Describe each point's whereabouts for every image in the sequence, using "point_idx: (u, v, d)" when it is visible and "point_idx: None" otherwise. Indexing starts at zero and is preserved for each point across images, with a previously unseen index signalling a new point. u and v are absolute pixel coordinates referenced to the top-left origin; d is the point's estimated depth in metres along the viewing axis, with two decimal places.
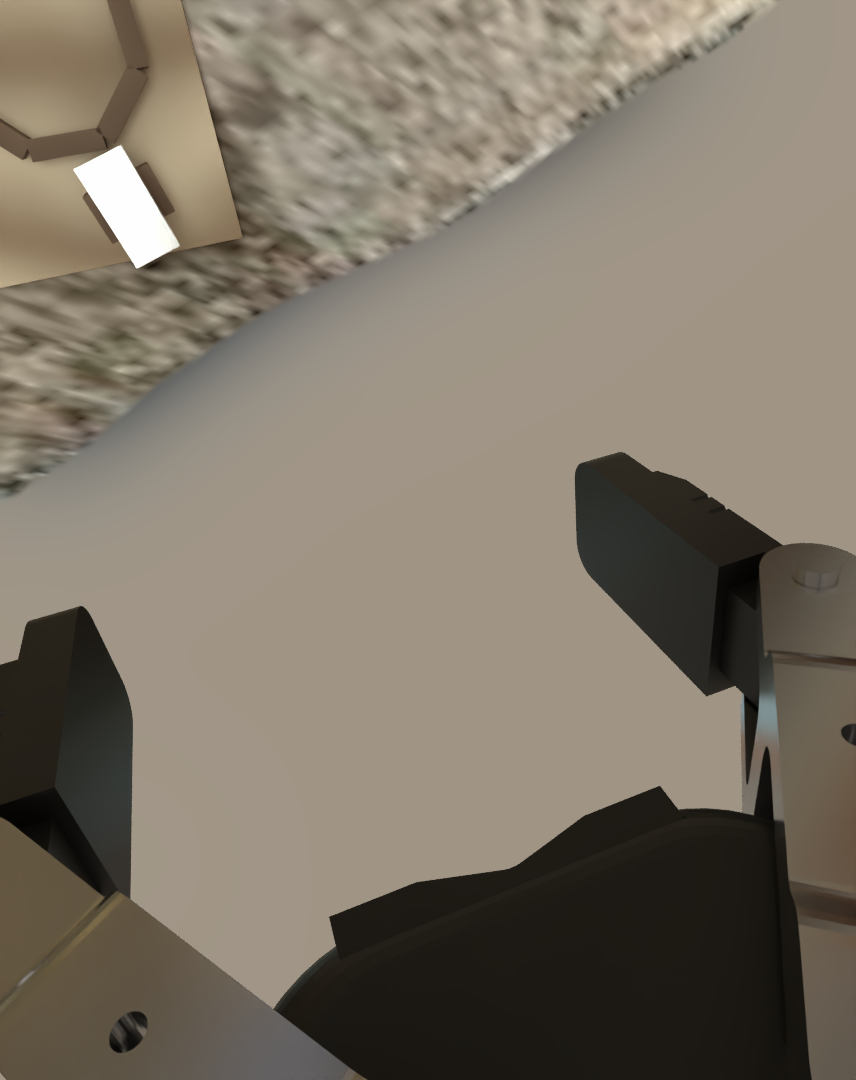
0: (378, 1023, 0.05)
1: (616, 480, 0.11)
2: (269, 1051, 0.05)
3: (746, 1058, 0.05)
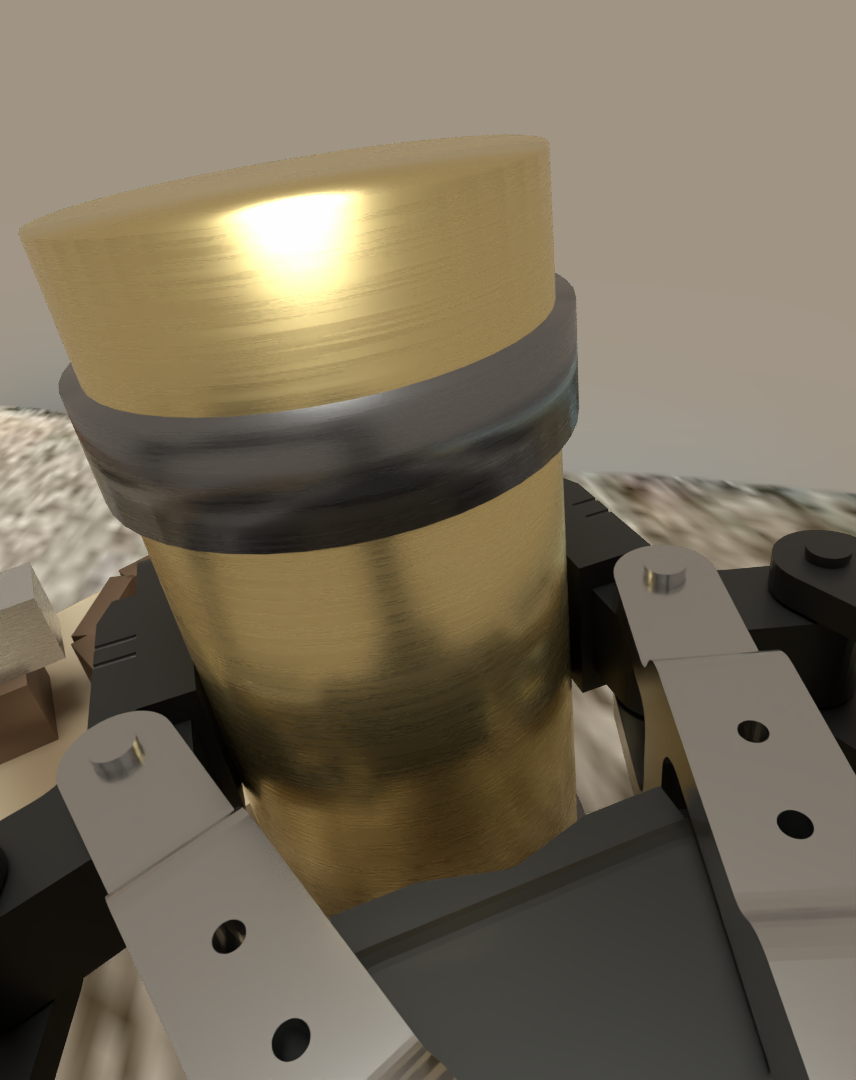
0: None
1: None
2: (345, 994, 0.05)
3: None
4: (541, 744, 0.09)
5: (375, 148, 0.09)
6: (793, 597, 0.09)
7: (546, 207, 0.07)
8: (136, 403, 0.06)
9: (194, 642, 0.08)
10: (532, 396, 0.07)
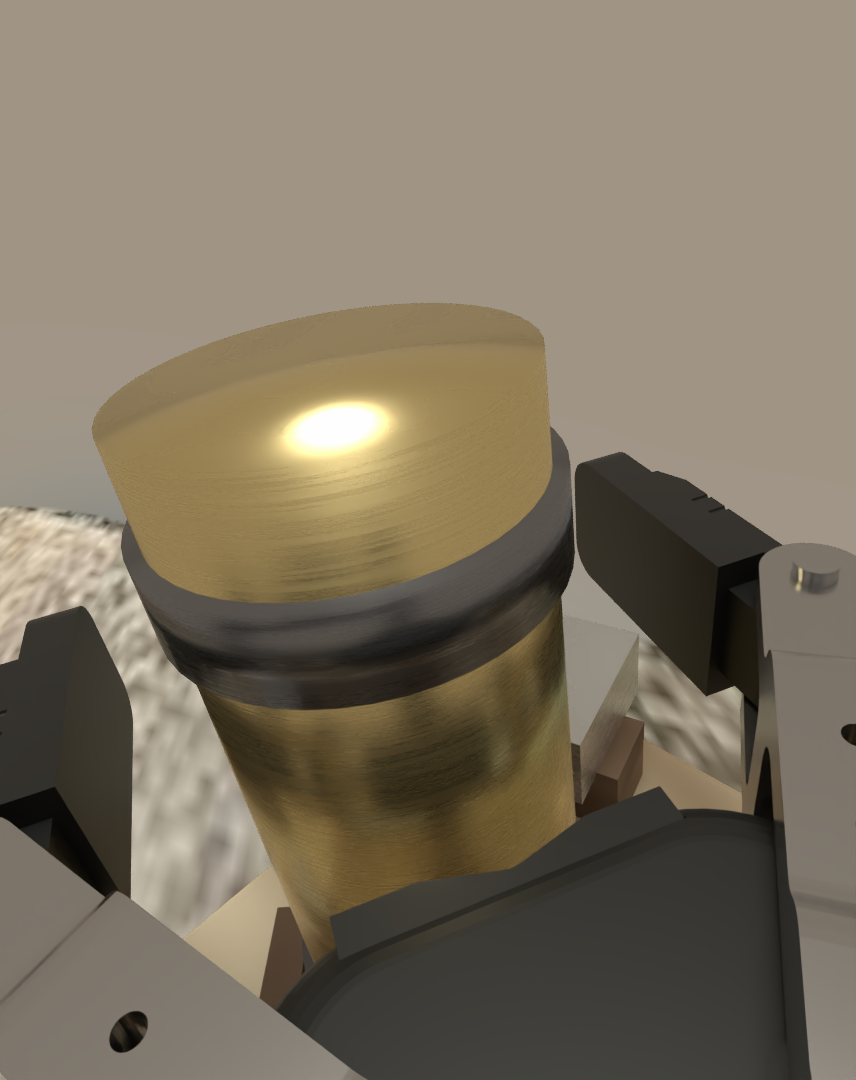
0: (378, 1023, 0.05)
1: (616, 480, 0.11)
2: (271, 1051, 0.05)
3: (746, 1058, 0.05)
4: (545, 840, 0.10)
5: (391, 312, 0.10)
6: None
7: (543, 404, 0.08)
8: (195, 586, 0.07)
9: (237, 761, 0.09)
10: (532, 568, 0.08)
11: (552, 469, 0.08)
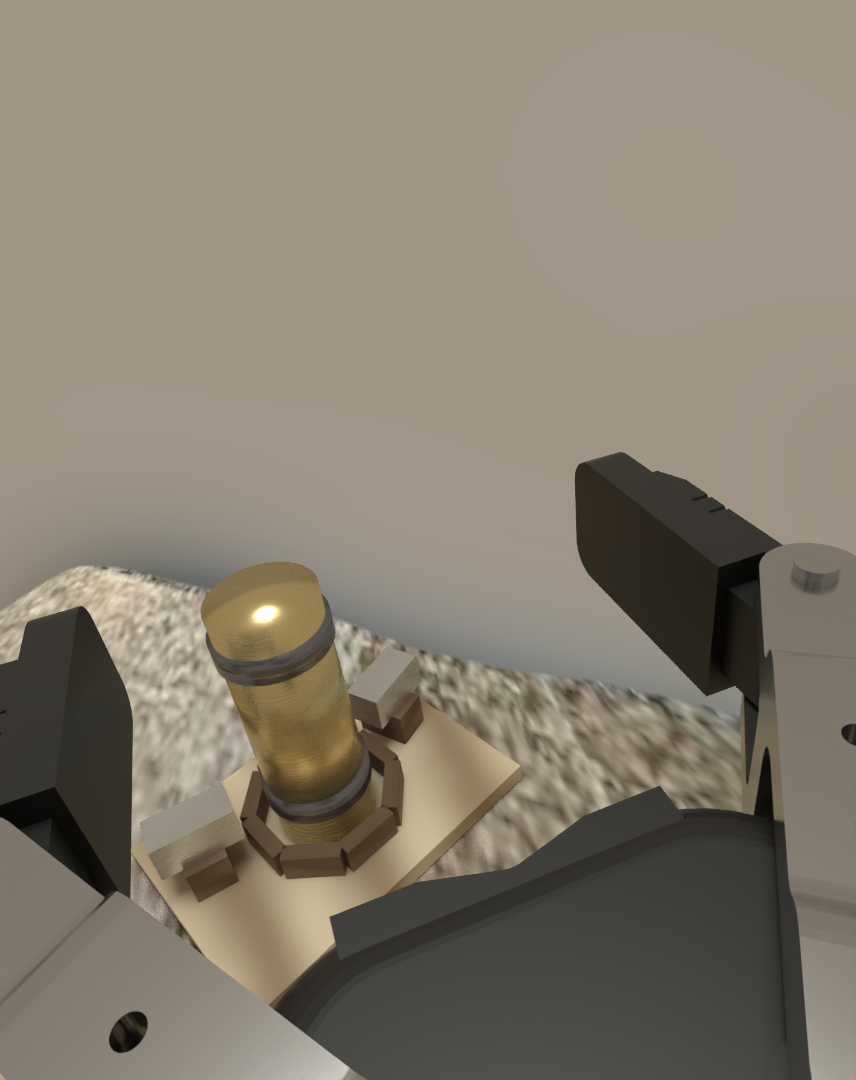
0: (378, 1023, 0.05)
1: (616, 480, 0.11)
2: (271, 1051, 0.05)
3: (746, 1058, 0.05)
4: (331, 727, 0.33)
5: (284, 567, 0.33)
6: None
7: (314, 610, 0.31)
8: (227, 656, 0.30)
9: (237, 701, 0.32)
10: (311, 651, 0.31)
11: (322, 622, 0.31)
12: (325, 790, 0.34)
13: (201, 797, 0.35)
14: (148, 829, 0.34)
